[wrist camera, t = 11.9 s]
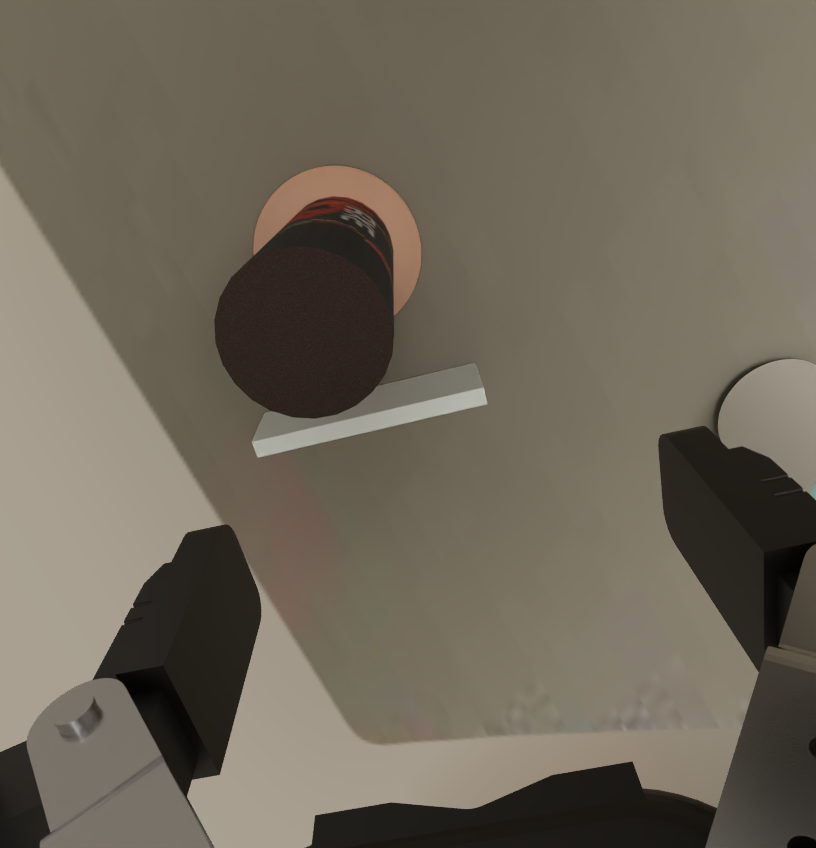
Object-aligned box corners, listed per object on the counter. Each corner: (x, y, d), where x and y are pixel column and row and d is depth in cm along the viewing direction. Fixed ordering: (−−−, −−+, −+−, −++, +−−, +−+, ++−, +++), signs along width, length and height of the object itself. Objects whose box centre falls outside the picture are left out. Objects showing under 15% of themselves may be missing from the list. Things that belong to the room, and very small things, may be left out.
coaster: (231, 190, 35) (229, 191, 34) (398, 145, 34) (398, 145, 34) (285, 349, 38) (284, 352, 38) (437, 312, 38) (437, 314, 37)
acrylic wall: (264, 412, 40) (251, 442, 36) (475, 362, 39) (483, 387, 35) (269, 427, 40) (257, 457, 37) (478, 378, 39) (487, 403, 36)
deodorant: (403, 209, 35) (410, 266, 21) (382, 317, 37) (376, 432, 24) (290, 185, 34) (222, 227, 21) (276, 297, 37) (206, 402, 23)
